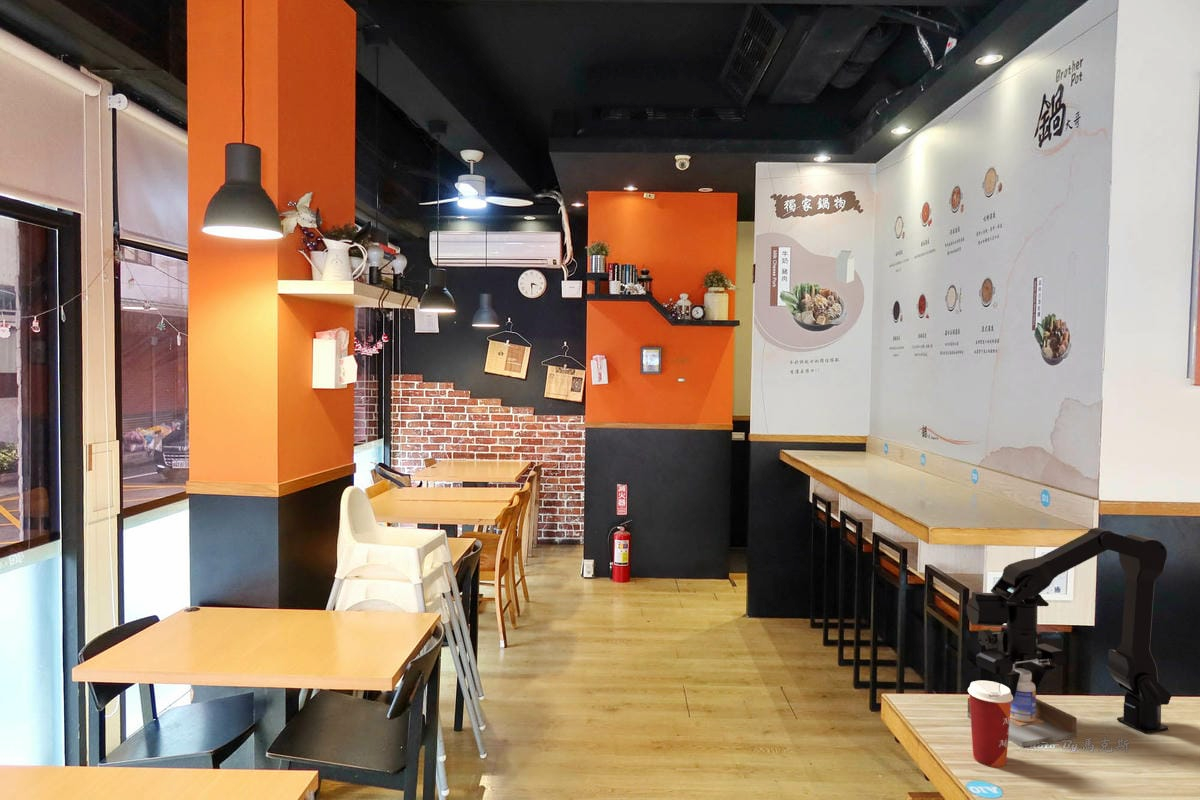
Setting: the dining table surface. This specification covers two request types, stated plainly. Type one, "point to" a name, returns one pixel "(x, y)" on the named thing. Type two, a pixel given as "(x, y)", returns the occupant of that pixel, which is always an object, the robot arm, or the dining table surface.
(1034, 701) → the pill bottle
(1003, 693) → the paper cup
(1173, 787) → the dining table surface
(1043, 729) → the corner arena
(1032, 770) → the dining table surface
